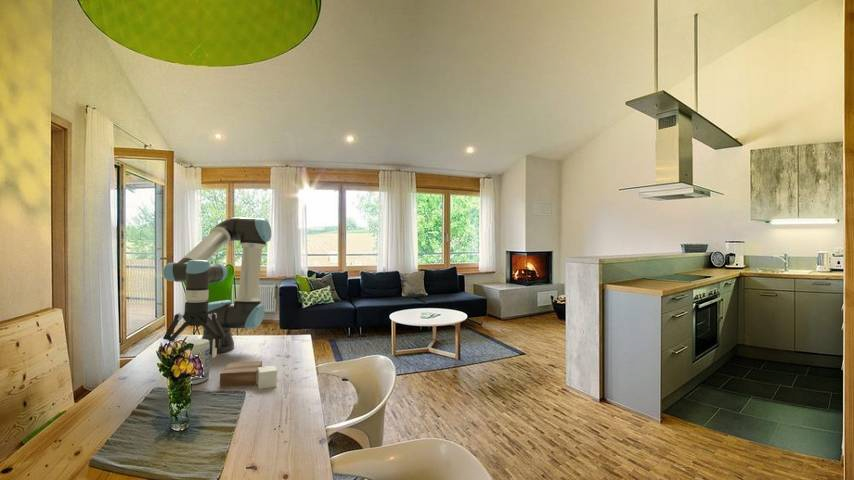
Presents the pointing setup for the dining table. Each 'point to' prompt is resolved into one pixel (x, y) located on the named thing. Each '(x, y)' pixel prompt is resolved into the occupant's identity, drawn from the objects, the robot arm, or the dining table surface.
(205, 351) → the supplement tub
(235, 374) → the walnut block
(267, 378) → the cream cube
